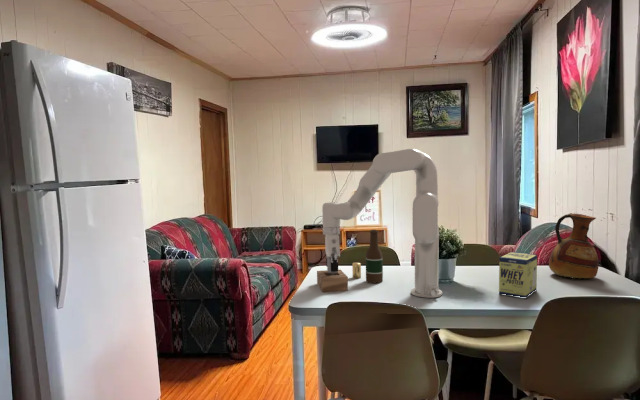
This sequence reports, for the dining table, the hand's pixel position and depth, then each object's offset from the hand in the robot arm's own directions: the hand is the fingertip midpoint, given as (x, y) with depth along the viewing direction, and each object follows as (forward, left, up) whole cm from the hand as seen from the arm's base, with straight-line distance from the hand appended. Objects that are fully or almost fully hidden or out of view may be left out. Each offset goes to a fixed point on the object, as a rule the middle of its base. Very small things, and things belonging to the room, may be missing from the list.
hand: (332, 269), depth 189 cm
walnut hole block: (0, 0, -8) cm, 8 cm away
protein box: (-26, -73, -8) cm, 78 cm away
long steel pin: (0, 0, -8) cm, 8 cm away
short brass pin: (+14, -15, -8) cm, 22 cm away
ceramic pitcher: (-8, -114, -8) cm, 114 cm away
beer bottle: (+5, -21, -8) cm, 23 cm away
